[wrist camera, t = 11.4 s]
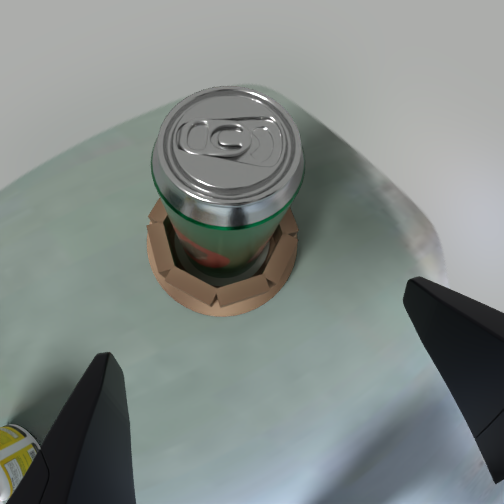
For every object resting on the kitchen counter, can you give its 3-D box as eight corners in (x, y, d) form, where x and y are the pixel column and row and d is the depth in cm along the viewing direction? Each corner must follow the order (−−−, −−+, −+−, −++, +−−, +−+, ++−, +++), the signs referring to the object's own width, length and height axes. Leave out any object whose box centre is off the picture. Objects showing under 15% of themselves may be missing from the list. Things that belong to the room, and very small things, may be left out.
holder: (315, 215, 23) (331, 197, 19) (254, 342, 20) (261, 346, 17) (195, 155, 23) (192, 130, 20) (124, 272, 21) (108, 262, 17)
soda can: (260, 281, 20) (318, 224, 8) (180, 277, 20) (130, 214, 8) (262, 206, 21) (309, 85, 10) (187, 202, 21) (160, 75, 9)
